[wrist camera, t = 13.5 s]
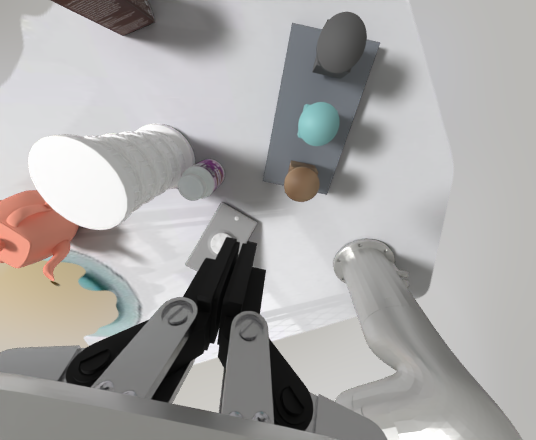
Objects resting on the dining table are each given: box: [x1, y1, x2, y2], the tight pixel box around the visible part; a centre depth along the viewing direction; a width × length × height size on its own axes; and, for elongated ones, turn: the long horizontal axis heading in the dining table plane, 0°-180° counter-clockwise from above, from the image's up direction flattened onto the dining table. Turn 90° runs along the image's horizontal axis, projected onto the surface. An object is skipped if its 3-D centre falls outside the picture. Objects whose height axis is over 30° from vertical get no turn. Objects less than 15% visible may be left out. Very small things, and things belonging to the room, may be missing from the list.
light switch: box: [185, 202, 257, 271], centre depth 43 cm, size 8×6×14 cm
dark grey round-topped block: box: [312, 12, 367, 79], centre depth 24 cm, size 5×5×6 cm
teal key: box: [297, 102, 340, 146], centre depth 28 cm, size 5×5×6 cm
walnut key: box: [284, 160, 320, 202], centre depth 32 cm, size 5×5×6 cm
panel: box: [263, 23, 380, 195], centre depth 31 cm, size 12×22×6 cm, turn 169°
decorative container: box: [28, 124, 195, 230], centre depth 31 cm, size 12×12×18 cm
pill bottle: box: [178, 159, 225, 201], centre depth 35 cm, size 5×5×10 cm
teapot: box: [0, 190, 79, 281], centre depth 42 cm, size 15×17×13 cm
